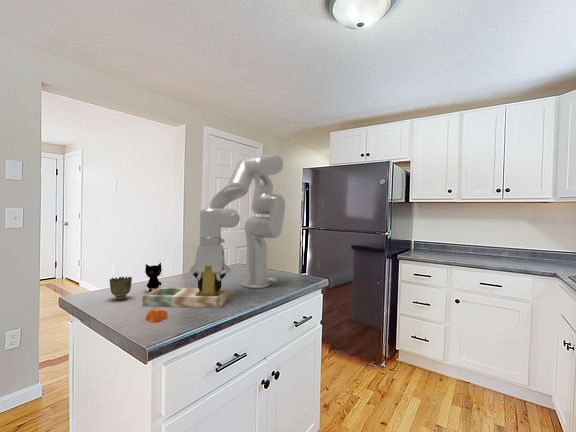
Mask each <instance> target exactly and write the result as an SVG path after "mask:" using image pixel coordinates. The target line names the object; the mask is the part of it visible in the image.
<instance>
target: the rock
mask: <svg viewBox="0 0 576 432" xmlns="http://www.w3.org/2000/svg"><path fill="white" fill-rule="evenodd" d="M167 318H168V310H167V309H157V308H151V309H150V310H148V311H147V314H146V317H145V320H146V321H148V323H157V322H158V323H159V322H162V321H165V320H167Z"/></svg>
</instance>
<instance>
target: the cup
mask: <svg viewBox="0 0 576 432" xmlns="http://www.w3.org/2000/svg"><path fill="white" fill-rule="evenodd" d="M132 282H133V277H132V276H119V277H112V278H110V279H109V287H110V293H111V295H113V296H114V299H115V300H116V301H124V300H125V299H127V295H128V294H129V293H130V291H131V287H132Z"/></svg>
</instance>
